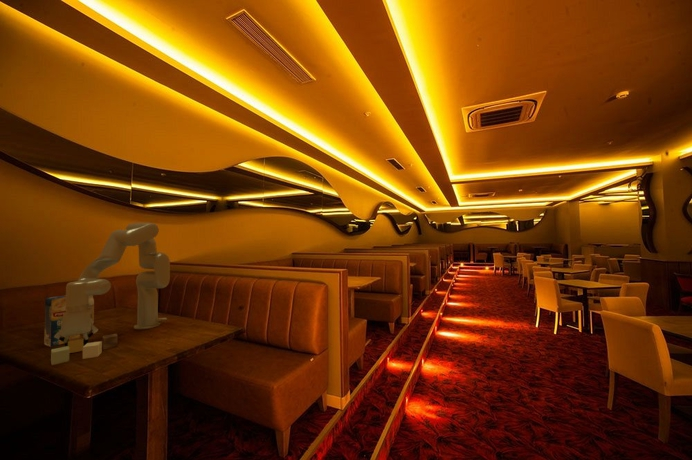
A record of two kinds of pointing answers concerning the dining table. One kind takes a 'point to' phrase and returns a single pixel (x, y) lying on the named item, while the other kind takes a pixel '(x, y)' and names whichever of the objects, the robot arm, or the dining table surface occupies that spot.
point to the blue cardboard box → (54, 319)
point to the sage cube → (59, 355)
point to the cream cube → (92, 349)
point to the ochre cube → (76, 344)
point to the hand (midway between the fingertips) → (76, 348)
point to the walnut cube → (110, 341)
